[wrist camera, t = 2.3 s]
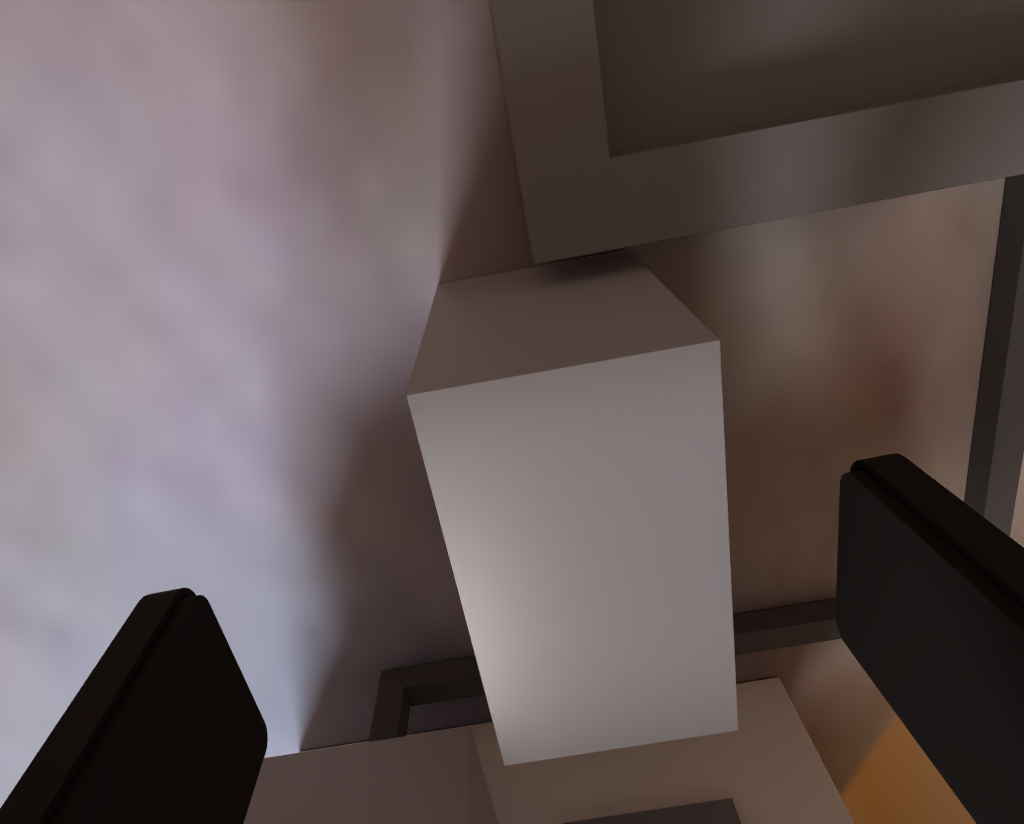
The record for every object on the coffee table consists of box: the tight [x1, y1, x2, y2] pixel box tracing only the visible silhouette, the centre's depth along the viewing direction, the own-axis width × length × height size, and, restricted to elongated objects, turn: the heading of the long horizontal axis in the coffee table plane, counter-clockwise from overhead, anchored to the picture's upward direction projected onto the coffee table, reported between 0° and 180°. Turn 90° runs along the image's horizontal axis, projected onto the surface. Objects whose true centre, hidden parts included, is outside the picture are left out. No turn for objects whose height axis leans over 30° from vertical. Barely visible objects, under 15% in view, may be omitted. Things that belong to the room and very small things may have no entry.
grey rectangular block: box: [406, 249, 738, 766], centre depth 13 cm, size 4×7×6 cm, turn 10°
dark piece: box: [368, 174, 1024, 742], centre depth 14 cm, size 16×11×4 cm
